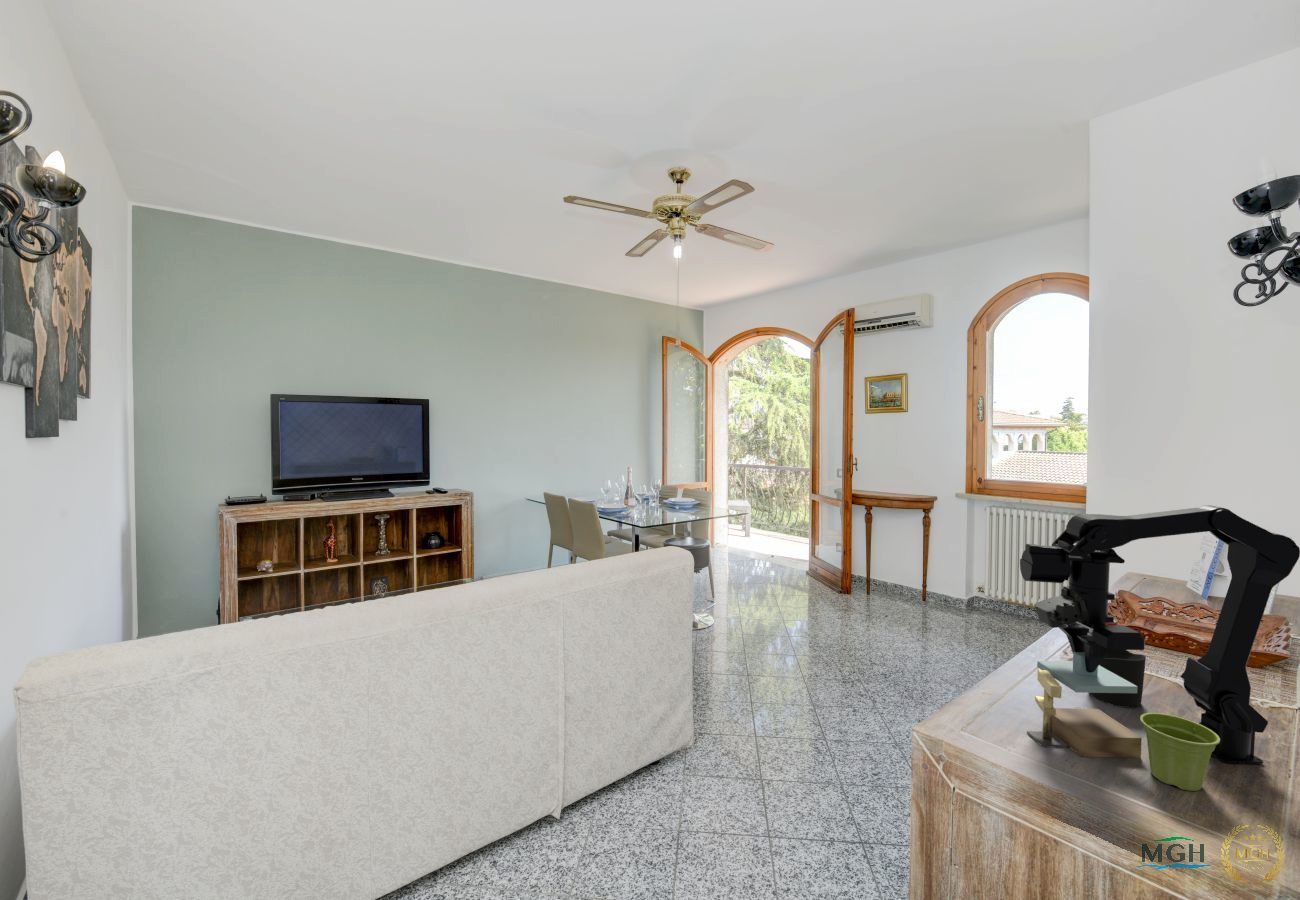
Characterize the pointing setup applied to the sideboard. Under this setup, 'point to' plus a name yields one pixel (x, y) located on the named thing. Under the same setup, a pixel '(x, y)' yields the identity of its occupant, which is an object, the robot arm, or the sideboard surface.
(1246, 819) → the sideboard surface
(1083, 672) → the lid
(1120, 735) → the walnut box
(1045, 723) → the key
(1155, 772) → the plant pot
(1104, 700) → the pen holder
